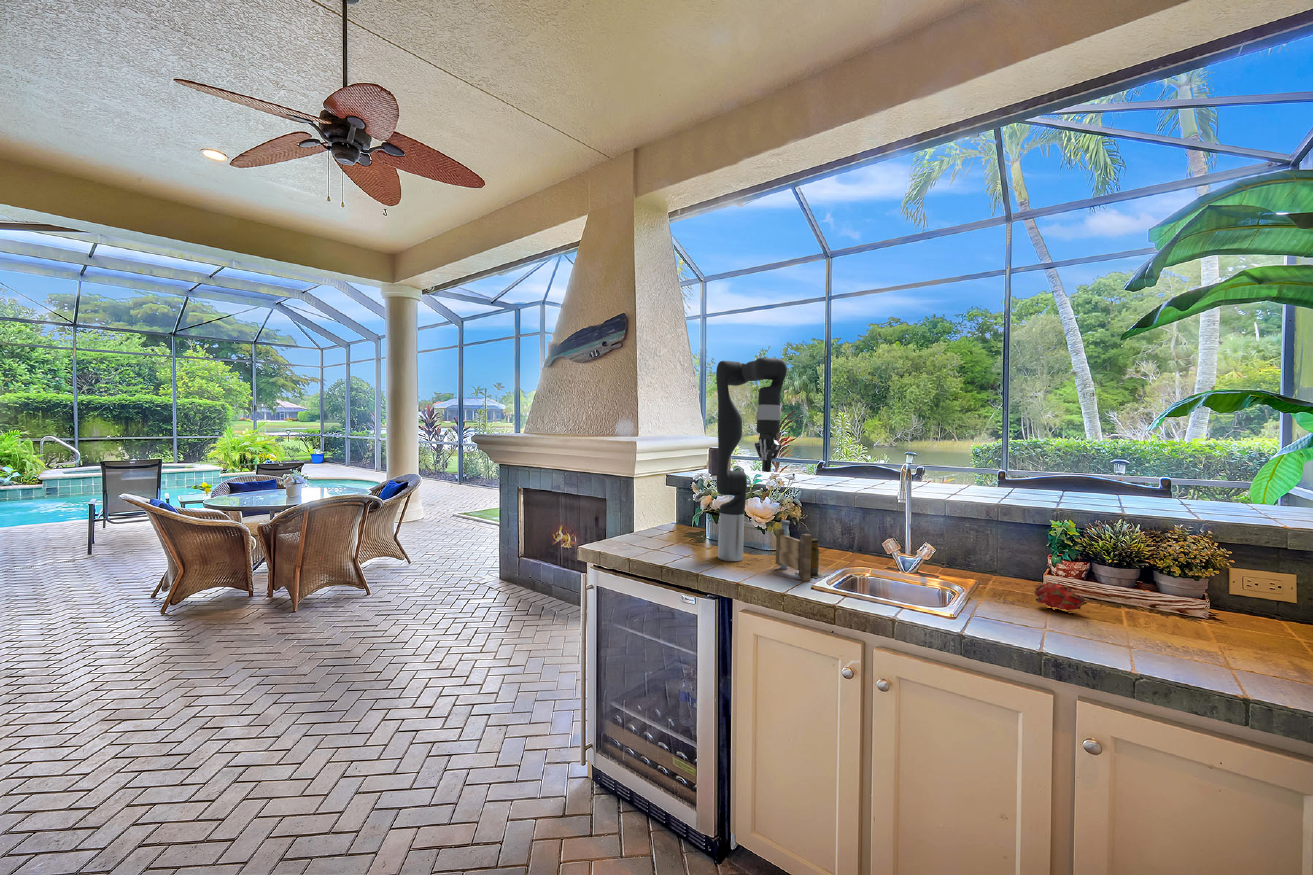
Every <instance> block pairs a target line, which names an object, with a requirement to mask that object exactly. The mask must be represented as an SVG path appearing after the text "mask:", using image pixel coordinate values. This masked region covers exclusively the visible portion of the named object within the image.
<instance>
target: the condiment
mask: <svg viewBox="0 0 1313 875" xmlns="http://www.w3.org/2000/svg"><path fill="white" fill-rule="evenodd" d="M819 561H820V547H819V539H817V538H813V537H812V549H811V576H810V578H814V579H818V578H824V577H827V576H828V574H825V573H821V572H819V564H820V563H819ZM794 573H796V574H798V575H799V571H794Z"/></svg>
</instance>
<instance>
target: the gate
mask: <svg viewBox="0 0 1313 875" xmlns="http://www.w3.org/2000/svg"><path fill="white" fill-rule="evenodd" d="M783 531H784V530H783V529H781V528H776V536H775V537H776V544H775V565H777V566H780V565H782V564H784V565H786V566H787V567H789V568H791V569H793V570H796V571H798V572H799V574H798V576H799V577H800V556H801V535H800V536H799V539H798V538H795V537H792V536H789V535H788V536H786V535H783Z"/></svg>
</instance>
